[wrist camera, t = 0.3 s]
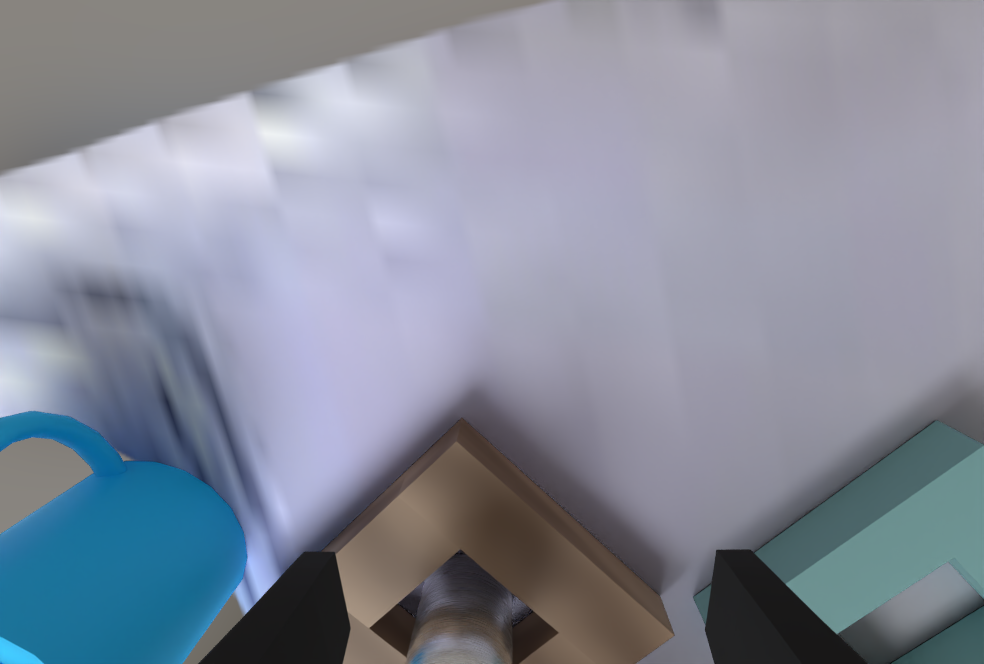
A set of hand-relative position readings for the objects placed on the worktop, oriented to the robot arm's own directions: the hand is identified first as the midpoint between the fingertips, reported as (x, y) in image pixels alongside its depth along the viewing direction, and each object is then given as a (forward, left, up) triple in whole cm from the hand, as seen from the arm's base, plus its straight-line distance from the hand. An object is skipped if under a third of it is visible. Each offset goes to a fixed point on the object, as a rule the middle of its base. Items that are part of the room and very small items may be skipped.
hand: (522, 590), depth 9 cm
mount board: (-8, -5, -10) cm, 14 cm away
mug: (-15, +8, -11) cm, 20 cm away
